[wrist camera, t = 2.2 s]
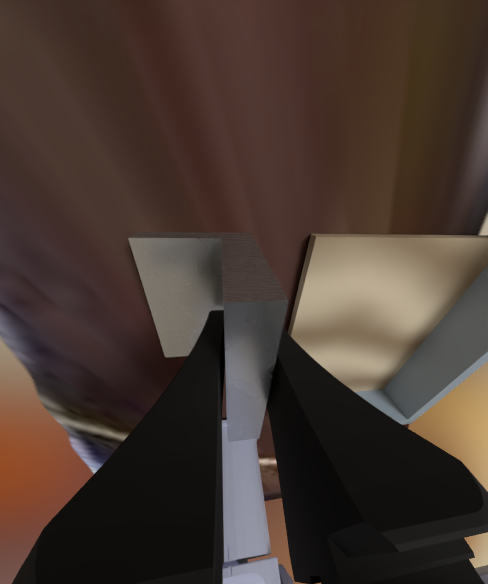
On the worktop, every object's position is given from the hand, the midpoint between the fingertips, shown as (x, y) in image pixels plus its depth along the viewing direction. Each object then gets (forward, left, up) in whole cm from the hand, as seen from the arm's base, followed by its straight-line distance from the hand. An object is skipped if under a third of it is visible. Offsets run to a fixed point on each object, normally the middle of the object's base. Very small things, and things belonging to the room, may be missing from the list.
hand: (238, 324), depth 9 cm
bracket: (0, +2, -2) cm, 3 cm away
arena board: (-4, -10, -2) cm, 11 cm away
